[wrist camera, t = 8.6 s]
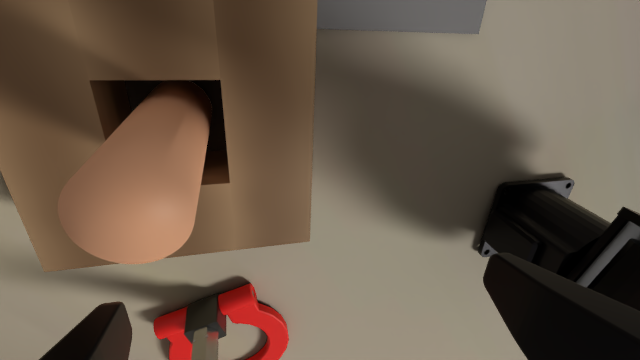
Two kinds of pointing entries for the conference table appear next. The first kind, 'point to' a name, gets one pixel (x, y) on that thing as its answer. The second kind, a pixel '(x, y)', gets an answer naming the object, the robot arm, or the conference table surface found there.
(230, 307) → the tow hook
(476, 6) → the mat
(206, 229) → the socket block
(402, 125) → the conference table surface
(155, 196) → the peg
